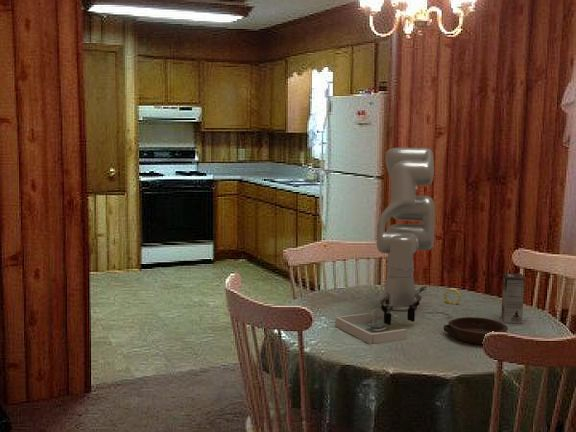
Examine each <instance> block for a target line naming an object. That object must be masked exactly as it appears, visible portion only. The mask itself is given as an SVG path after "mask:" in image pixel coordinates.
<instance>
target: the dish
mask: <svg viewBox="0 0 576 432" xmlns="http://www.w3.org/2000/svg"><path fill="white" fill-rule="evenodd" d="M508 329H509V328H508V326H507V325H506V323H504V322H501V321H497V320H494V319H491V318H485V317H473V316H472V317H471V316H468V317H467V316H465V317H458V318H453V319H450V321H448V324H444V325H443V331H444V332H445V333H448V334H452V335H453V336H454V337H455V338H456V339H457V340H460V341H463V342H466V343H469V344H474V345H483V344H482V342H483V339H484V336H485V334H487V333H489V332H492V331H494V332H506V333H507V331H508Z"/></svg>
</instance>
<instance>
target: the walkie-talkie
mask: <svg viewBox="0 0 576 432" xmlns="http://www.w3.org/2000/svg"><path fill="white" fill-rule="evenodd" d="M426 288H427V286H426V285H424V286H421V287H419V288H418V287H415V293H416V294H418V295H419V294H421V291H423V290H424V289H426Z"/></svg>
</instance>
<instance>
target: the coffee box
mask: <svg viewBox="0 0 576 432" xmlns="http://www.w3.org/2000/svg"><path fill="white" fill-rule="evenodd" d="M502 274H503V275H502V294H501V295H502V296H501V297H502V298H501V312H500V313H501V315H500V316H501V318H502V321H503V324H519V325H520V324H523V315H524V314H523V313H524V312H523V311H524V310H523V309H524V296H525V278H524V276H523V274H522V273H509V272H503V273H502Z"/></svg>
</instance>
